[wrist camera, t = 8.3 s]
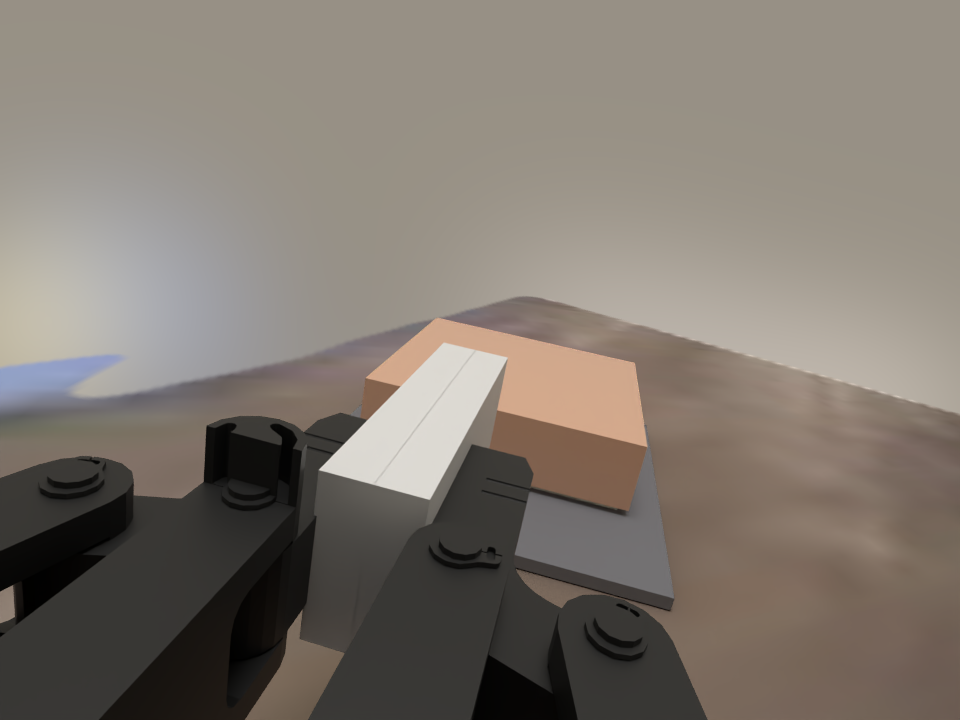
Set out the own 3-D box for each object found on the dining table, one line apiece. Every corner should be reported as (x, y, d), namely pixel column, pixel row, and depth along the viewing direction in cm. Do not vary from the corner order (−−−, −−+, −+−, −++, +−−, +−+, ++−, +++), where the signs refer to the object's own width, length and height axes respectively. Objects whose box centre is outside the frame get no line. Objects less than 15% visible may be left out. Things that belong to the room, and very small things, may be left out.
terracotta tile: (626, 517, 26) (620, 414, 38) (647, 447, 25) (634, 363, 37) (356, 447, 28) (428, 368, 39) (365, 377, 27) (436, 317, 38)
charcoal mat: (644, 432, 37) (646, 425, 37) (670, 610, 22) (674, 598, 22) (400, 373, 39) (401, 366, 39) (270, 499, 24) (271, 488, 24)
